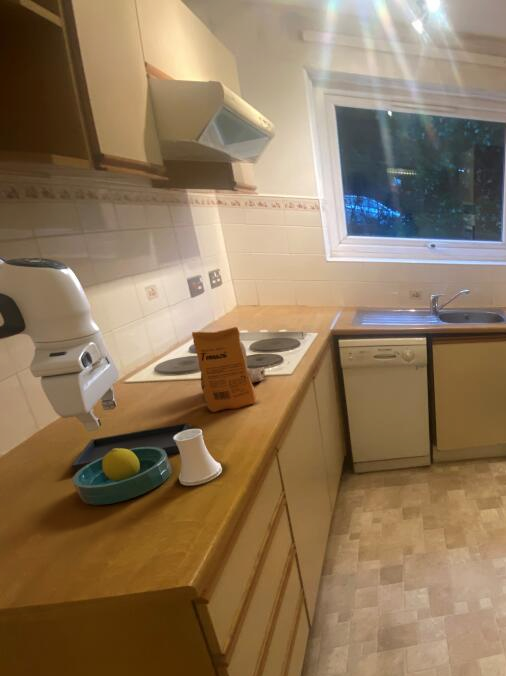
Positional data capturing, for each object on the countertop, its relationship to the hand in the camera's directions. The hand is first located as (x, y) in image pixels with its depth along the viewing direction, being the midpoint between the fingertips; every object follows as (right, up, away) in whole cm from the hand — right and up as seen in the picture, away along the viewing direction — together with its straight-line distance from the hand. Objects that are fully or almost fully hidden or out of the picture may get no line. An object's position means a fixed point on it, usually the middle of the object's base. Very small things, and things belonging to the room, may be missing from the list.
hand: (103, 418), depth 84 cm
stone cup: (-7, +6, +54) cm, 55 cm away
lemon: (0, -14, +6) cm, 15 cm away
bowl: (0, -14, +6) cm, 15 cm away
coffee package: (-1, +1, +41) cm, 41 cm away
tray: (-9, -9, +18) cm, 22 cm away
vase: (+13, -13, +9) cm, 20 cm away
